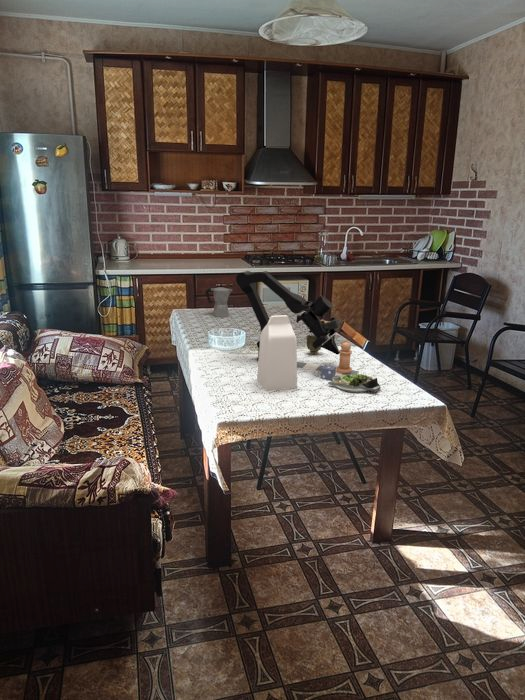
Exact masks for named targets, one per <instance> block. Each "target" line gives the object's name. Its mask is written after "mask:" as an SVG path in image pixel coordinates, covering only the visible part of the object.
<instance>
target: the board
mask: <svg viewBox="0 0 525 700" xmlns="http://www.w3.org/2000/svg"><path fill="white" fill-rule="evenodd" d="M323 366H324V365H321V364H315V363H307V362H303V361H302V362H301V361H297V369H298V368H299V369H303V370H304V369H306V370H312V371H317V372H321V368H322V367H323ZM336 370H337V367H336ZM359 373H360V371H359V370H352V372H351V373H350V374H340V373H338V372H336V374H335V375H354V374H357V375H358V374H359Z"/></svg>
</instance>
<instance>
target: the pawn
mask: <svg viewBox="0 0 525 700" xmlns="http://www.w3.org/2000/svg"><path fill="white" fill-rule="evenodd" d="M340 348H341V349H339V361H338V362H339V363H338V366H336V368H337V370H336V372H338V373H340V374H339V375H342V374H350V373H351V372H352V369H353V368H352V367H351V357H352V356H351V355H352V353H353V351H352V350H351V343H349V342H347V341H345V342H342V343H341V346H340Z"/></svg>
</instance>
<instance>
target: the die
mask: <svg viewBox="0 0 525 700" xmlns="http://www.w3.org/2000/svg"><path fill="white" fill-rule="evenodd" d="M322 366H323V367H322V368H321V371H320V379H322V380H327V381H333V380H332V378H333V377H335V376H336V375H337V374H336V368H337V366H335V365H334V366H333V365H327V364H324V365H322Z"/></svg>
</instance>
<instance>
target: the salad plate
mask: <svg viewBox="0 0 525 700" xmlns="http://www.w3.org/2000/svg"><path fill="white" fill-rule="evenodd" d="M327 385H330V386H333V387H335V388H337V389H339V390H342V391H345V392H347V393H375V391H376V392H377V391H379V390H380V389H381V385H380V383H378V377H372V376H370V375H367V374H361V373H360V374H359V373H358V374H354V375H342V374H336V375H335V377H333V378H332V380H331V381H328V382H327Z"/></svg>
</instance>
